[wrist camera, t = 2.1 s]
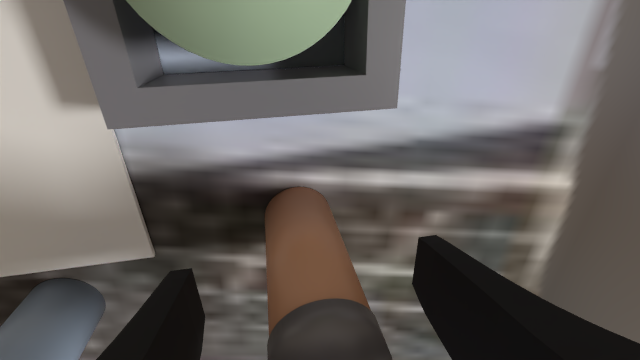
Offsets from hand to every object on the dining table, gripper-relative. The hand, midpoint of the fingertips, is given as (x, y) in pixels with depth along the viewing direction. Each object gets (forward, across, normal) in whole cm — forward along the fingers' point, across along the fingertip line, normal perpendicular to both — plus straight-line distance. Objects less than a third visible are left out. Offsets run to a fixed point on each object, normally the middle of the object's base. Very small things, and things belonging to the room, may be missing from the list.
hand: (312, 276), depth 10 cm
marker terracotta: (+4, 0, 0) cm, 4 cm away
